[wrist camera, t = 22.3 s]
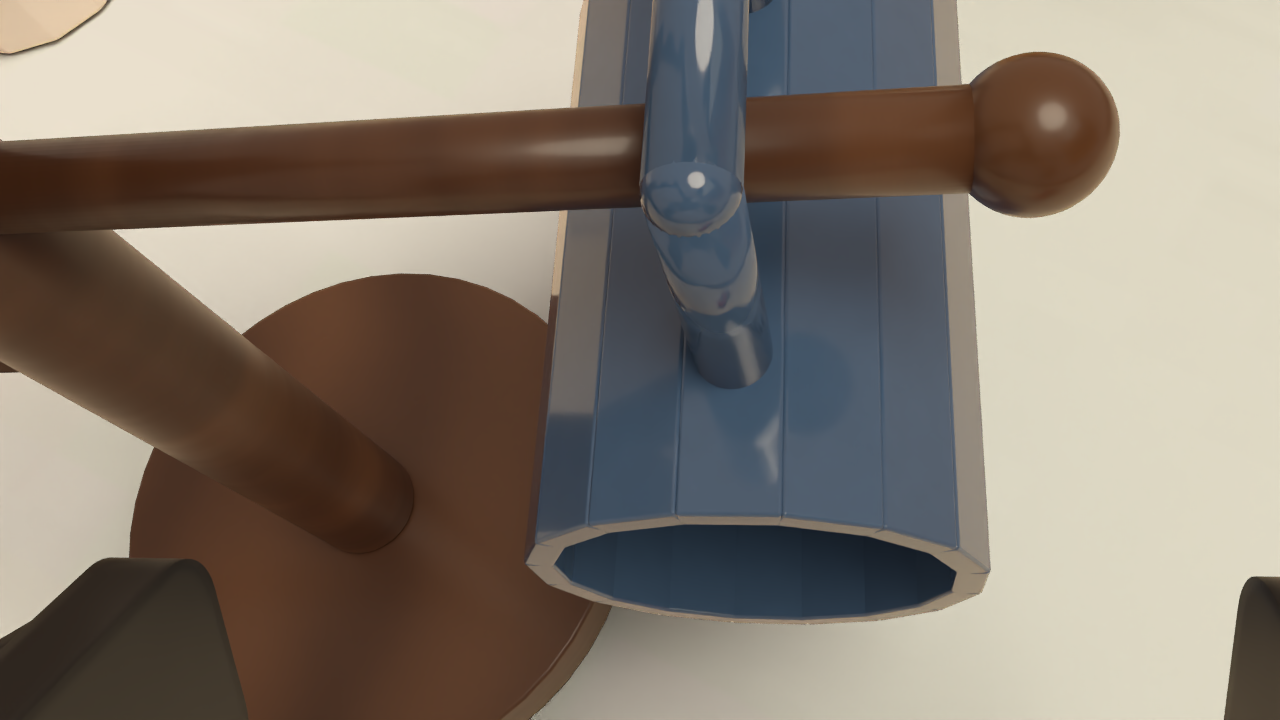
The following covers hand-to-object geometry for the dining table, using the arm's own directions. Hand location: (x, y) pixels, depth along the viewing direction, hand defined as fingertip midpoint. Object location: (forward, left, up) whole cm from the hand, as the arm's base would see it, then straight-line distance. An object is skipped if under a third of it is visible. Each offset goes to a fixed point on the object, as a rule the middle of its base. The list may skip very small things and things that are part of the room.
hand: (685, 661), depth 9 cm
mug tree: (-4, +8, -15) cm, 17 cm away
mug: (+6, +10, -4) cm, 12 cm away
